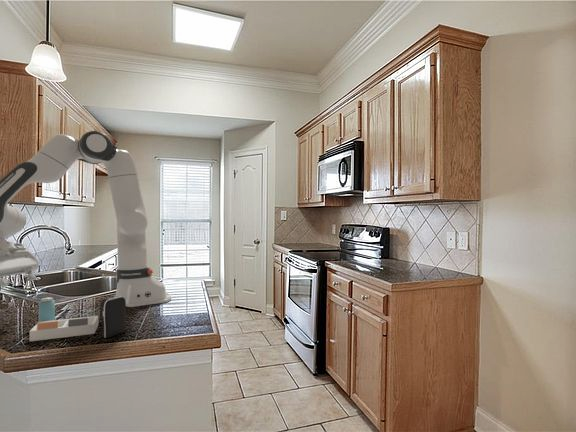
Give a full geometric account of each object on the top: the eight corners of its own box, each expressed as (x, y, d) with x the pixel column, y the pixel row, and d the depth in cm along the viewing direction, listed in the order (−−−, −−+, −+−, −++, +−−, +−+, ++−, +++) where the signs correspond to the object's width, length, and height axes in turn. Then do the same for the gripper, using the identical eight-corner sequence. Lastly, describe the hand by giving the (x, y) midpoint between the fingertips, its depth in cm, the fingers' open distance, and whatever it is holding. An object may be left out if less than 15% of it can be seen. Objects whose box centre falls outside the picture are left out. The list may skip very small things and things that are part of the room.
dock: (98, 324, 113) (98, 309, 113) (94, 333, 104) (94, 317, 104) (38, 331, 106) (38, 315, 106) (29, 341, 98) (29, 324, 98)
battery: (118, 330, 108) (117, 294, 108) (126, 331, 106) (126, 295, 106) (97, 337, 101) (97, 299, 101) (106, 339, 100) (106, 300, 100)
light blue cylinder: (56, 322, 115) (56, 296, 115) (53, 326, 111) (52, 299, 111) (41, 324, 113) (40, 297, 113) (36, 328, 109) (36, 300, 109)
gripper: (-33, 249, 105) (-7, 282, 103) (29, 244, 125) (51, 271, 124) (-44, 263, 106) (-19, 296, 104) (19, 255, 126) (41, 282, 124)
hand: (20, 282), depth 114 cm, fingers open, 8 cm apart
